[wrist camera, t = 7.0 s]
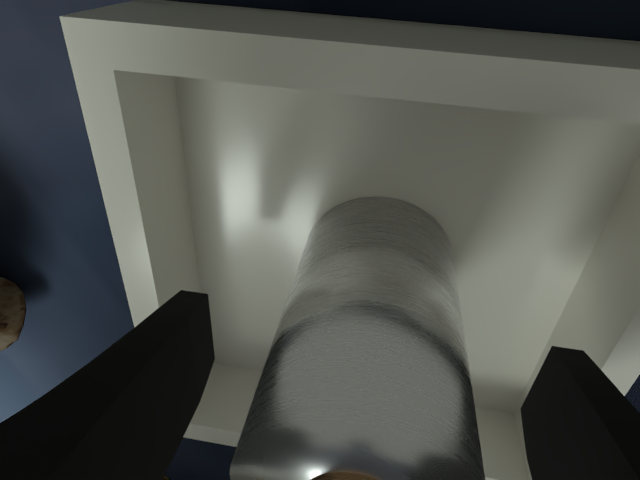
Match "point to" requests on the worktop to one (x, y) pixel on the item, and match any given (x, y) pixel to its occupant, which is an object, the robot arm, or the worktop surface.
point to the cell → (367, 358)
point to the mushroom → (10, 312)
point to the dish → (369, 179)
